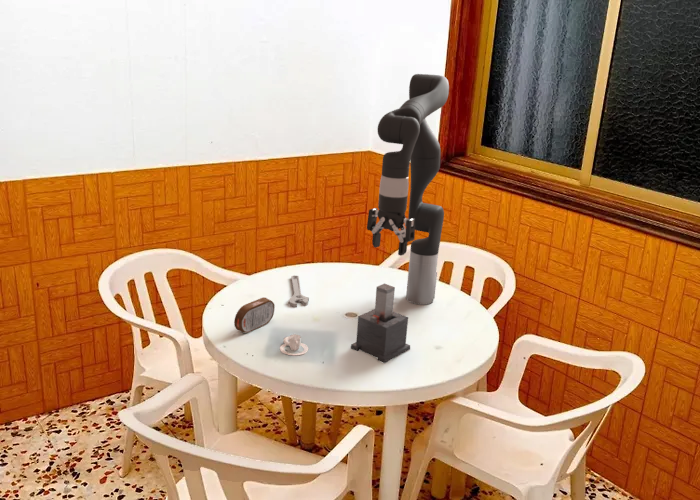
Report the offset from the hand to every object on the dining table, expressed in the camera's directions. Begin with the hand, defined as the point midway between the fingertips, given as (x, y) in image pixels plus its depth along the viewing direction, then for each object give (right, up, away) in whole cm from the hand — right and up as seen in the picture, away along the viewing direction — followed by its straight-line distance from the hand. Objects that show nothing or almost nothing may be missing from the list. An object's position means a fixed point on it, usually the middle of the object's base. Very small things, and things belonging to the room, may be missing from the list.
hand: (388, 250), depth 181 cm
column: (-2, -28, +10) cm, 30 cm away
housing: (-2, -28, +10) cm, 30 cm away
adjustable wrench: (-28, -15, +45) cm, 55 cm away
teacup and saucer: (-24, -27, +9) cm, 38 cm away
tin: (-39, -23, +18) cm, 48 cm away
